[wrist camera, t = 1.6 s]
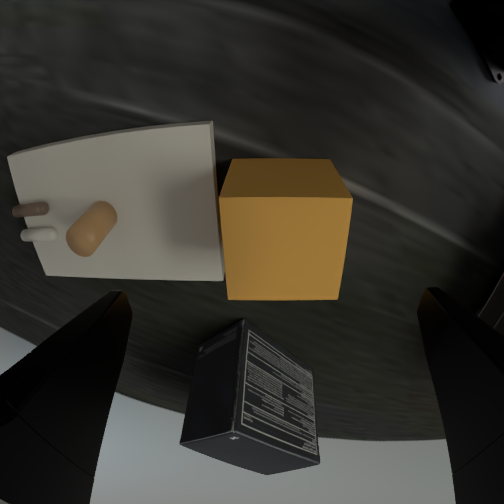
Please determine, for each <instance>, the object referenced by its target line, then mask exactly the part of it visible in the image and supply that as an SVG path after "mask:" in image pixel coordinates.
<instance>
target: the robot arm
mask: <svg viewBox="0 0 504 504" xmlns="http://www.w3.org/2000/svg"><path fill="white" fill-rule="evenodd" d="M456 3H457V4H458V5H459V9H458V8H457V6H456ZM450 7H451V9H452V10H453V12H454V13H455V15H456V16H457V18H458V19H459V21H460V23H461V24H462V26H463V27H464V29H465V30H466V32H467V34H468V35H469V37H470V39H471V41H472V42H473V44H474V46H475V47H476V49H477V51H478V53H479V55H480V57H481V58H482V60H483V62H484V64H485V66H486V68H487V70H488V72H489V74H490V76H491V78H492V80H493V81H494V82H495V83H499V84H501V83H503V82H504V0H451V1H450ZM497 74H498V79H497ZM417 316H418V320H419V325H420V330H421V335H422V340H423V345H424V350H425V355H426V359H427V363H428V366H429V370H430V373H431V377H432V381H433V384H434V388H435V392H436V396H437V400H438V404H439V408H440V413H441V417H442V422H443V426H444V431H445V436H446V441H447V446H448V452H449V457H450V463H451V469H452V473H453V474H452V477H453V484H454V492H455V501H456V504H504V336H503V335H501V334H500V333H499V332H497V331H496V330H495V329H494V328H492V327H491V326H490V325H488V324H487V323H486V322H485V321H483V320H482V319H481V318H479V317H478V316H477V315H475V314H474V313H473V312H471V311H470V310H469V309H467V308H466V307H465V306H463V305H462V304H460V303H459V302H458V301H456V300H455V299H454V298H452V297H451V296H449V295H448V294H447V293H445V292H444V291H442V290H441V289H440V288H438V287H428V288H426V289H425V290H424V292H423V295H422V297H421V300H420V303H419V306H418V309H417ZM131 321H132V310H131V307H130V304H129V301H128V298H127V295H126V293H125V292H124V291H123V290H111V291H109V292H108V293H107V294H105V295H104V296H103V297H101V298H100V299H98V300H97V301H96V302H94V303H93V304H92V305H90V306H89V307H88V308H86V309H85V310H84V311H82V312H81V313H80V314H78V315H77V316H76V317H75V318H73V319H72V320H71V321H69V322H68V323H67V324H65V325H64V326H63V327H61V328H60V329H59V330H58V331H56V332H55V333H54V334H52V335H51V336H50V337H49V338H47V339H46V340H45V341H44V342H42V343H41V344H40V345H38V346H37V347H36V348H35V349H33V350H32V351H31V353H28V354H27V355H26V356H25V357H24V358H23V359H21V360H20V361H18V362H17V363H16V364H15V365H13V366H12V367H11V368H9V369H8V370H7V371H5V372H4V373H3V374H1V375H0V504H90V498H91V493H92V487H93V482H94V478H93V477H94V476H95V471H96V466H97V461H98V457H99V453H100V448H101V444H102V439H103V435H104V431H105V427H106V423H107V419H108V415H109V411H110V408H111V404H112V400H113V396H114V393H115V389H116V385H117V382H118V378H119V375H120V372H121V368H122V365H123V361H124V356H125V351H126V346H127V341H128V336H129V331H130V326H131Z"/></svg>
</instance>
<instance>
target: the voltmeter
mask: <svg viewBox="0 0 504 504" xmlns="http://www.w3.org/2000/svg"><path fill="white" fill-rule="evenodd" d="M475 315H477V316H478V317H479V318H481V319H482V320H483V321H485V322H486V323H487V324H488V325H490V326H491V327H492V328H494V329H495V330H496V331H497V332H499V333H500V334H501V335H503V336H504V273H503V275H502V277H501V279H500V280H499V282H498V284H497V286H496V287H495V289H494V291H493V293H492V294H491V296H490V298H489V299H488V301H487V303H486V304H485V306H484V307H482V308H480V309H478V310H477V312H476V313H475Z"/></svg>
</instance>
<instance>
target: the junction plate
mask: <svg viewBox="0 0 504 504" xmlns="http://www.w3.org/2000/svg"><path fill="white" fill-rule="evenodd" d="M7 159H8V163H9V167H10V171H11V175H12V179H13V182H14V186H15V190H16V193H17V196H18V200H19V203H20V205H15V206H14V207H13V209H12V214H13V216H14V217H17V218H18V217H24V218H25V221H26V224H27V227H28V229H24V230H23V231H22V232H21V239H22V240H23V241H33V244H34V246H35V249H36V252H37V254H38V257H39V259H40V262H41V264H42V266H43V269H44V271H45V273H46V275H47V276H68V277H90V278H116V279H148V280H192V281H223V279H224V273H225V266H224V256H223V245H222V234H221V223H220V211H219V199H218V186H217V174H216V160H215V146H214V132H213V121H199V122H186V123H175V124H165V125H155V126H147V127H139V128H131V129H124V130H117V131H111V132H105V133H99V134H93V135H88V136H82V137H77V138H72V139H67V140H62V141H58V142H53V143H49V144H45V145H40V146H36V147H32V148H28V149H24V150H21V151H17V152H15V153H13V154H11V155H9V156H8V157H7Z"/></svg>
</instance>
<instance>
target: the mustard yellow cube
mask: <svg viewBox="0 0 504 504" xmlns="http://www.w3.org/2000/svg"><path fill="white" fill-rule="evenodd" d="M352 201H353V198H352V196H351V194H350V193H349V191H348V189H347V187H346V186H345V184H344V182H343V181H342V179H341V177H340V175H339V174H338V172H337V170H336V169H335V167H334V165H333V164H332V162H331V161H330V159H298V158H250V159H232V161H231V164H230V167H229V170H228V173H227V175H226V178H225V181H224V184H223V187H222V190H221V193H220V196H219V206H220V218H221V229H222V241H223V252H224V262H225V273H226V283H227V293H228V300H338V294H339V289H340V283H341V277H342V271H343V265H344V259H345V253H346V246H347V239H348V232H349V225H350V217H351V209H352Z"/></svg>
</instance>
